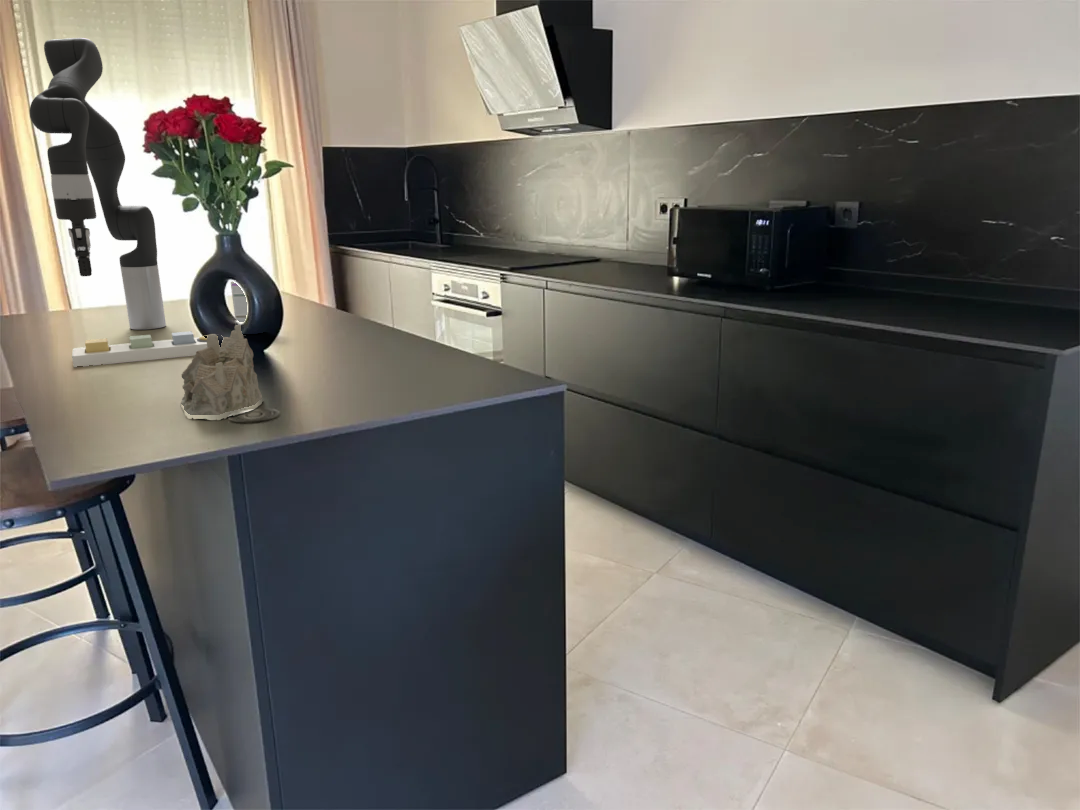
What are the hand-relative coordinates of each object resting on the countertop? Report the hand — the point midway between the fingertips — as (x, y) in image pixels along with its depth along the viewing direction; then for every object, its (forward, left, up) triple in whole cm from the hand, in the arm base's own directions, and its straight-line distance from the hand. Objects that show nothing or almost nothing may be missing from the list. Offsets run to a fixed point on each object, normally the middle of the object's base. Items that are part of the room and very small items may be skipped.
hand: (86, 274), depth 172 cm
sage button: (0, +9, -18) cm, 20 cm away
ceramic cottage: (+54, +19, -20) cm, 60 cm away
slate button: (0, +18, -18) cm, 25 cm away
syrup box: (-18, +36, -20) cm, 45 cm away
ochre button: (0, 0, -18) cm, 18 cm away
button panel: (0, +11, -20) cm, 22 cm away
